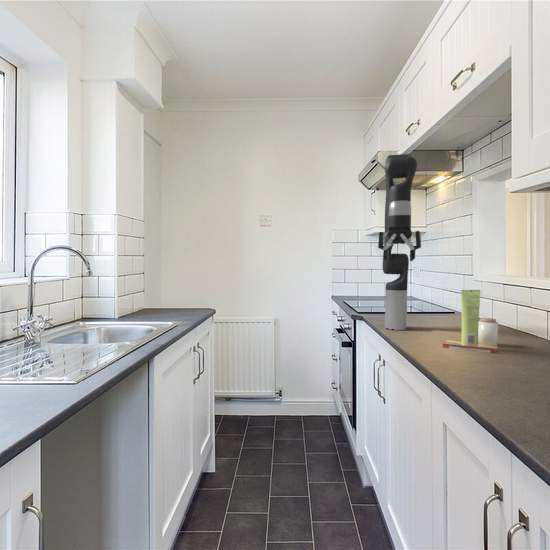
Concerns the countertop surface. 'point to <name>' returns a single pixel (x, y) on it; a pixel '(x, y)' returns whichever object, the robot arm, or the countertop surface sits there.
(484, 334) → the jar
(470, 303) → the tube
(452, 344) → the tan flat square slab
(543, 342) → the countertop surface
